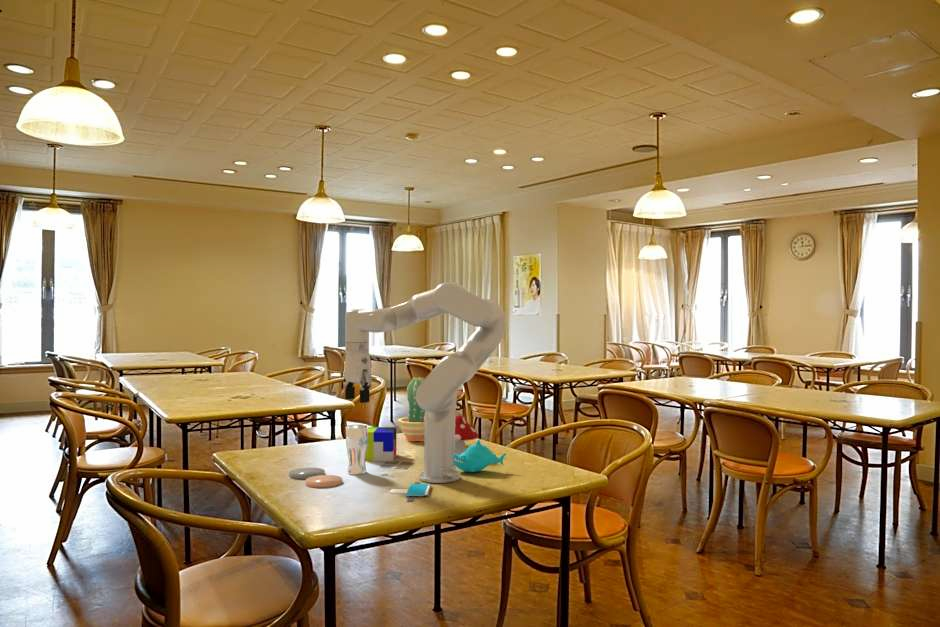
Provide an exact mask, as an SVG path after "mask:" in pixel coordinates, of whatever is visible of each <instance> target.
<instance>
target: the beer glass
mask: <svg viewBox="0 0 940 627" xmlns="http://www.w3.org/2000/svg"><path fill="white" fill-rule="evenodd" d="M367 429H368V425H366V424H350V425H349V424H348V425H347V426H346V434H345V435H346V436H345V446H346V451H347V458H348V467H347V471H346V472H347V474H348V475H351V476H352V475H353V476H361V475H364V474H366V473H367V467H366V461H365V458H366V452H367V445H368V430H367Z"/></svg>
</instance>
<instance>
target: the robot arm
mask: <svg viewBox="0 0 940 627" xmlns="http://www.w3.org/2000/svg"><path fill="white" fill-rule="evenodd" d="M446 314H449V315H451V316H453V317H455V318H457V319H459V320H460V321H463V322H465V323H467V324H469V325H472V326H473V327H476V328H477V329H475V331H474V332H473V333H472V334H471V335H470V336H469V337H468V338H467V340H466V341H465V342H464V343H463V344H462V345H461V347H460V348H458V349H457V351H455V352H453V353H452V352H451V353H450V354H447V355H446V356H444V357H443V358H442V359H441V360H440V361H438V363H437V364H436V365H435V367H434V368H433V369H432V370H431V372H429V374H427V376H426V377H425V378H424V381H423V382H422V383H421V384H420V386H419V387H418V389H417V392H416V401H417V403H418V405H419V407H420V408H421V409H423V410H425V413H424V417H425V431H424V441H423V442H424V453H423V454H424V455H423V456H424V460H423V462H424V466H423V468H424V471H423V472H420V473H419V475H418V477H419V480H420V481H423V482H425V483H430V484H446V483H447V484H448V483H453V482H456V481H458V480H459V479H460V478H461V477H460V475H461V472H460V471H458V470H457V467H456V465H455V417H456V413H457V412H456V410H457V409H456V408H457V402H458V401H457V400H458V399H457V398H458V392H457V391H458V390H459V389H460V388H461V386H462V385H463V384H465V383H467V382H469V381H470V380H471V379H472V378H474V376H475V375H476V373H477V372H478V371H479V369H480V368H481V367H482V366H483V365H484V364H485V363H486V361H487V360H488V359H489V358H490V356H492V354H493V353H494V351H495V350H496V349H497V348H498V346H499V345H500V343H501V342H502V341H503V339H504V336H505V334H506V328H507V319H506V314H505V311H504V310H503V308H502V306H501V305H500V304H499V303H498V302H497V301H496V300H493V299H488V298H482V297H480V296H478V295H476V294H474V293H472V292H469V291H467V289H465V287H464V286H463V285H462V284H459V283H457V282H450V281H448V282H447V281H446V282H442V283H440V284H438V285H437V286H436V288H433V289H429V290H427V291H424V292H421V293H417V294H415V295H413V296H411V298H410V299H409V300H407V301H406V302H404V303H400V304H397V305H394V306H391V307H387V308H373V309H361V308H360V309H348V310H347V311H346V312H345V322H344V323H345V327H344V328H345V332H344V333H345V339H344V340H345V349H344V350H345V351H344V352H345V360H344V372H342V374H343V382H344V394H345V395H344V397H345V400H355V398H356V396H355V391H356V388H355V384H357V385H359V388H360V389H359V403H360V404H363V403H364V404H365V403H370V390H371V386H372V381H373V377H372V365H371V364H372V363H371V362H372V361H371V355H370V333H376V334H377V333H385V332H386V333H387V332H392V331H395V330H398V329H402V328H405V327H407V326H411V325H414V324H416V323H421V322H424V321H427V320H430V319H433V318H436V317H440V316H442V315H446Z"/></svg>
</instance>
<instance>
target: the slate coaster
mask: <svg viewBox="0 0 940 627" xmlns="http://www.w3.org/2000/svg"><path fill="white" fill-rule="evenodd" d="M325 472H326V471H325V469H323V468H320V467H299V468H295V469H292V470H290V471H289V472H288V476H289V478H291V479H293V480H306V479H307V478H309V477H313V476H319V475H326V474H325Z"/></svg>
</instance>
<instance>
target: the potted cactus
mask: <svg viewBox="0 0 940 627" xmlns="http://www.w3.org/2000/svg"><path fill="white" fill-rule="evenodd" d="M424 379H425V378H424V377H413V378H412V379H411V381H410V382H409V384H408V385H407V387H406V396H407V397H406V398H407V402H408V403H407V404H408V417H407V416H406V417H401V418H398V419H397V423H398V424H397V425H399V426H400V429H401V432H402V433H403V435H404V436H405V441H406V440H407V442H411V441H421V442H424V431H425V412H426V411H425V410H423V409H421V408H420V407H419V405H418V403H417V401H416V392H417V389H418V387H419V386H420V384H421V383H422V382H423V381H424Z"/></svg>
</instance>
